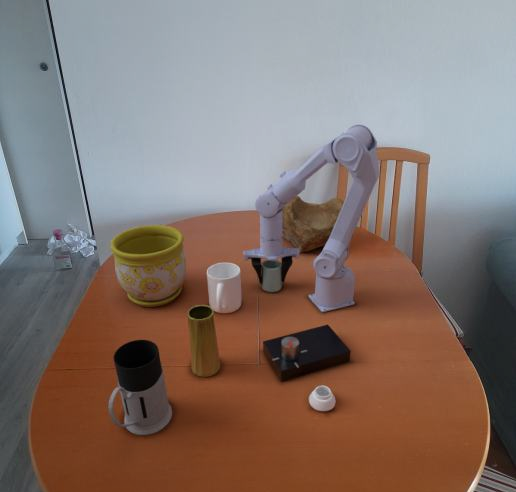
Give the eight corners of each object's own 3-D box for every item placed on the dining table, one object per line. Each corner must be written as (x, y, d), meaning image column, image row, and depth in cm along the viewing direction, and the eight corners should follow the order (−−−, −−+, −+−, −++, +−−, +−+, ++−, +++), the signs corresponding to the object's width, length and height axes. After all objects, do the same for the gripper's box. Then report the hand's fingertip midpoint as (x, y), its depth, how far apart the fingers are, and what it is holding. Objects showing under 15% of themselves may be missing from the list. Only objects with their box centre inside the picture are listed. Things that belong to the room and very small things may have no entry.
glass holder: (179, 402, 86) (170, 340, 79) (147, 465, 74) (132, 400, 66) (137, 395, 88) (125, 334, 80) (99, 456, 76) (80, 391, 68)
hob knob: (280, 350, 94) (280, 335, 92) (297, 349, 94) (297, 334, 92) (282, 361, 91) (282, 347, 89) (299, 360, 91) (300, 346, 89)
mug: (236, 324, 107) (234, 288, 102) (202, 322, 108) (199, 286, 103) (244, 297, 118) (242, 263, 113) (213, 295, 119) (210, 261, 114)
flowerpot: (127, 320, 109) (115, 262, 101) (116, 285, 124) (105, 232, 116) (197, 302, 116) (192, 246, 108) (179, 271, 130) (173, 219, 122)
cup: (276, 280, 125) (276, 257, 121) (284, 289, 120) (285, 266, 117) (258, 283, 123) (258, 261, 119) (266, 293, 118) (265, 270, 115)
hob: (327, 334, 103) (327, 323, 102) (350, 362, 95) (352, 351, 93) (261, 352, 98) (261, 341, 97) (280, 383, 90) (280, 372, 88)
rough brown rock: (273, 259, 137) (274, 216, 129) (271, 232, 151) (272, 192, 142) (348, 260, 137) (354, 217, 129) (339, 233, 151) (345, 193, 143)
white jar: (327, 390, 88) (304, 397, 86) (327, 378, 87) (304, 386, 85) (340, 407, 84) (316, 416, 82) (341, 396, 82) (317, 404, 81)
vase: (197, 381, 91) (191, 324, 84) (187, 363, 96) (180, 308, 89) (225, 371, 93) (221, 315, 86) (213, 354, 98) (209, 300, 91)
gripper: (243, 244, 110) (245, 290, 117) (301, 241, 111) (300, 287, 117) (242, 232, 116) (244, 276, 123) (297, 229, 117) (296, 274, 124)
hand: (271, 281), depth 121 cm, fingers closed on cup, 5 cm apart
